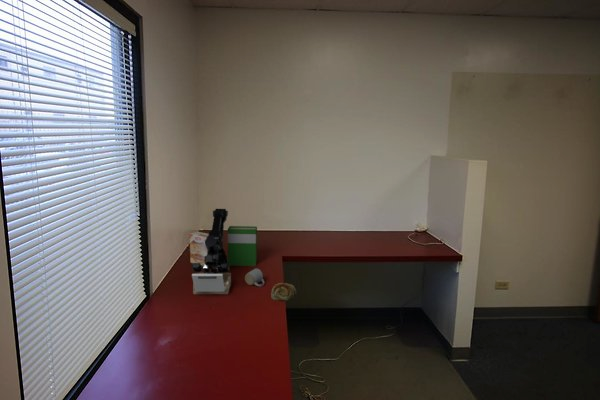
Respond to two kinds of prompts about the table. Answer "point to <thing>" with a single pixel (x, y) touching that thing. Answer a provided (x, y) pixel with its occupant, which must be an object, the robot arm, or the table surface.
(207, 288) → the panel
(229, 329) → the table surface
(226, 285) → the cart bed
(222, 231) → the robot arm
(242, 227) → the hardback book
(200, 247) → the coffeecake box
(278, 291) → the pastry
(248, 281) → the ceramic mug
